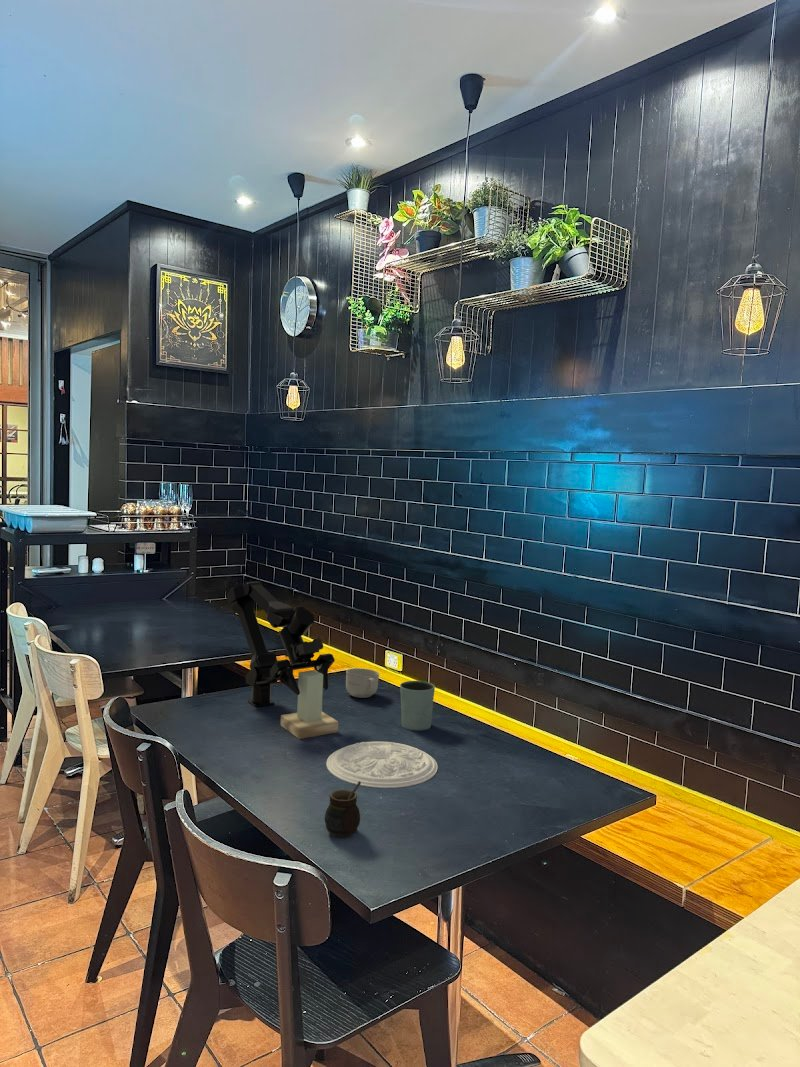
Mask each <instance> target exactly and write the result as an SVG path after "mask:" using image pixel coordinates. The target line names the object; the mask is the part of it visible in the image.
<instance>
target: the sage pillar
mask: <svg viewBox="0 0 800 1067" xmlns="http://www.w3.org/2000/svg"><path fill="white" fill-rule="evenodd" d="M297 676H298V678H297V685H298V688H299V691H300V694H299V695H297V706H296V707H297V709H296V713H297V718H299V719H301V720H303V721H304V722H311V721H316V720H321V719H322V712H323V690H324V687H323V674H321V673H319V672H317V671H316V670H315V669H312V670H305V671H300V672H298V675H297Z"/></svg>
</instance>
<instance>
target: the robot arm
mask: <svg viewBox="0 0 800 1067" xmlns="http://www.w3.org/2000/svg"><path fill="white" fill-rule="evenodd" d="M226 601H227V603H228V605H229V607H230V609H231V610H232V611H233V612H234V613H235V614H236V615H237V616H238V618H239V620H240V623H241V628H242V630H243V632H244V636H245V639H246V642H247V645H248V648H249V651H250V655H251V660H250V661H249V662H250V663H249V671H248V672H247V674H246V675H245V684H247V685H248V686H251V698H248V699H247V702H248V703H250V704H251V705H252V706H253V707H262V706H263V707H264V706H269V705H270V706H271V705H275V703H276V702H275V701H274V700H272V698H271V696H272V693H271V691H272V690H271V688H272V684H278V681H279V682H280V683H281V684H283V685H284V686H287V687H288V688H289V689H290V690H291V691H292V692H293V693H294V694H295V695H297V696H298V695H299V694H300V691H299V688H298V682H297V680H296V679H295V676H294V671H297V670H304V669H310V668H314V669H313V670H315V671H317V672H319V673H321V674H323V690H325V691H327V690H328V689H329V679H328V678H329V669H330V667H332V665H333V664H334V662H335V661H336V660H335V657H334V655H333V653H323V654H319V655H318V657H316V659H313V658H314V657H315V654H316V653H320V650H323V649H324V643H323V641H322V638H320V637H319V638H314V639H312V641H307V640H306V641H304V640H303V637H302V636H304V635H305V634H306V633H307V632H308V630H309V629H310V628H311V626H312V625H313V624H314V622H315V615H314V614H313V613H312V612H311V611H310V610H308V609H306V608H305V607H304V606H303V605H299V606H296V607H295V608H293V607H292V606H291V605H289V604H288V603H283V602H280V601H278V599H276V598H275V596H273V595H272V594H271V593H270V592H269V591H268V590H267V589H266V588H265V587H264V585H263V583H262V582H261V581H247V582H246V583H243V584H241V585H239V586H235V587H231V588H229V590H228V591H227V593H226ZM256 604H257V605H258V606H259V607H260V609H262V610H263V611H264V612H265V613H266V620H267V621H268V623H269V624H270V626H271V627H272V628H275V629H277V628H282V629H280V630H279V631H278V635H277V636H276V640H277V641H281V642H282V644H283V648H284V650H285V652H284V657H285V658H288V659H279V660H278V658H277V654H276V653H275V652H270V651H269V650H268V649H267V646H266V643H265V639H264V636H263V633H262V630H261V628H260V624H259V622H258V619H257V615H256V612H255V610H254V609H255V606H256Z"/></svg>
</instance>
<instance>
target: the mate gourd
mask: <svg viewBox="0 0 800 1067" xmlns="http://www.w3.org/2000/svg"><path fill="white" fill-rule="evenodd" d="M360 783H361V782H360V781H359V782H358V784H357V785H356V784H355V787H354V788H353V790H349V789H336V790H333V791H332V792H330V794H329V805H328V807H327V809H326V810H325V813H324V823H325V828H326V830H327V832H329V834H331V835H332V836H334V837H337V838H346V837H347V838H348V837H350V836H351V835H353V834H354V833H356V832H357V830H358V827H359V826H360V823H361V822H360V821H361V813H360V809H359V807H358V804H357V801H358V795H357V793H356V791H357V789H358V788H359V786H361V785H360Z"/></svg>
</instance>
